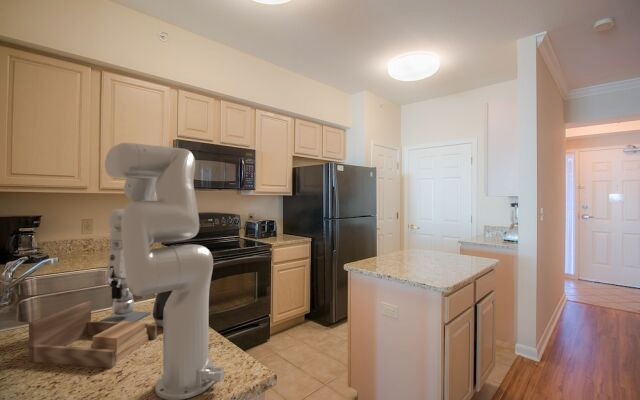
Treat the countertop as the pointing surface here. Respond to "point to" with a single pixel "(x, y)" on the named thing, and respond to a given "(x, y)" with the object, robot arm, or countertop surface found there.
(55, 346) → the rack
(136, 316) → the mat
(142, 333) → the offcut stack
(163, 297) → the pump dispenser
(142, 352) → the countertop surface
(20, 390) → the countertop surface
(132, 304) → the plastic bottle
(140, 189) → the robot arm
